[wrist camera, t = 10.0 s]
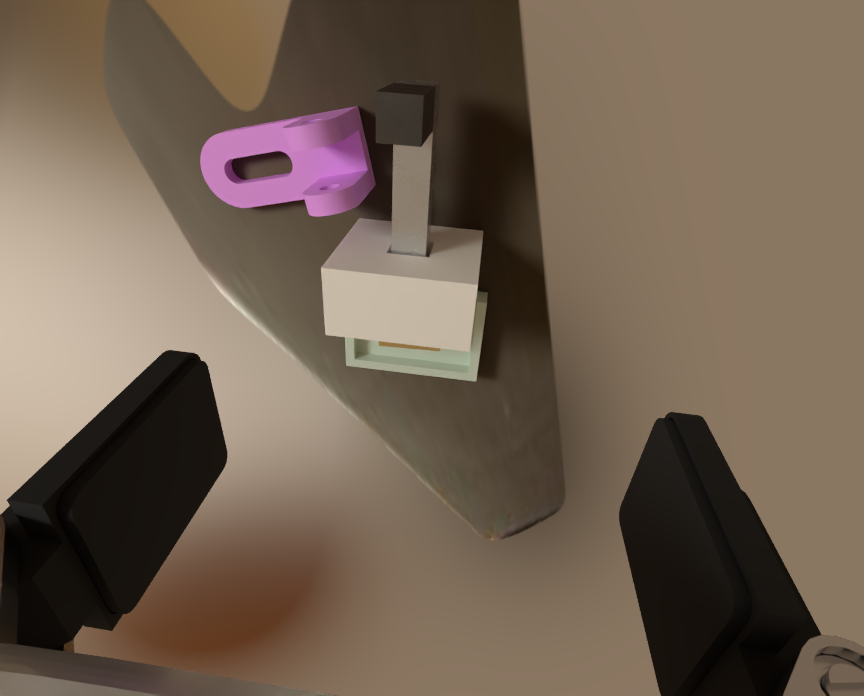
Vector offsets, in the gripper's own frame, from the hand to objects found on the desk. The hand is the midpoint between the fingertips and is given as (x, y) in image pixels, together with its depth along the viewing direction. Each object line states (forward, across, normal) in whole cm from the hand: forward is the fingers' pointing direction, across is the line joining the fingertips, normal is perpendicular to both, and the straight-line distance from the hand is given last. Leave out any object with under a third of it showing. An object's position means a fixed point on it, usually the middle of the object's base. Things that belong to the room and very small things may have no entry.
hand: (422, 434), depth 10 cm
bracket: (+31, +15, +2) cm, 34 cm away
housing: (+30, +4, +8) cm, 32 cm away
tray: (+30, +4, +15) cm, 34 cm away
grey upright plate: (+26, +4, +2) cm, 27 cm away
